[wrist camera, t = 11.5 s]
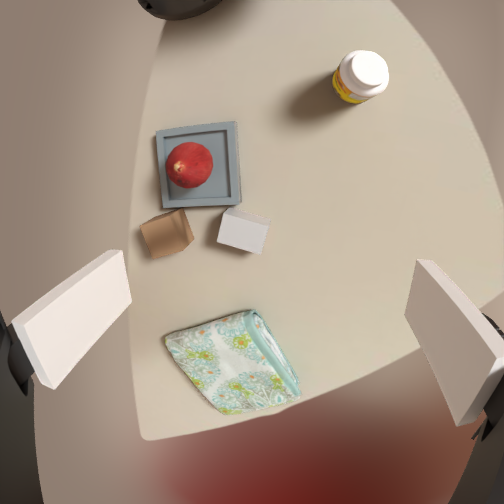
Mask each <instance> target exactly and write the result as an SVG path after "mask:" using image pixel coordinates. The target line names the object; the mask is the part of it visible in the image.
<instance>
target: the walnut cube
mask: <svg viewBox="0 0 504 504" xmlns="http://www.w3.org/2000/svg"><path fill="white" fill-rule="evenodd" d="M140 229H141V231H142V234H143V236H144V239H145V241H146V244H147V246H148V249H149V251H150V253H151V256H152V258H153V259H155V258H158V257H162V256H165V255H169V254H172V253H176V252H180V251H183V250H184V249H185V248H186V247H187V246H188V245H189V244H190V243H191V242H192V241H193V240H194V236H193V234H192V231H191V228H190V225H189V223H188V220H187V217H186V215H185V212H184V209H183V207H182V208H179V209H176V210H173V211H171V212H168V213H165V214H162V215H159V216H156V217H154V218H152V219H151V220H149V221H147V222H146V223H144V224H142V225H141V226H140Z"/></svg>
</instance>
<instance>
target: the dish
mask: <svg viewBox="0 0 504 504" xmlns="http://www.w3.org/2000/svg"><path fill="white" fill-rule="evenodd" d="M156 141H157V154H158V165H159V175H160V185H161V194H162V202H163V208H171V207H189V206H211V205H238V204H240V203H241V202H242V200H241V184H240V168H239V151H238V134H237V122H235V121H233V122H221V123H211V124H202V125H194V126H186V127H179V128H172V129H166V130H160V131H156ZM185 142H195V143H198V144H201V145H203V146H204V147H206V148H207V149H208V150H209V151H210V153H211V155H212V157H213V169H212V172H211V175H210V176H209V178H208V179H207V180H206V182H205V183H203V184H202V185H200V186H198V187H196V188H188V189H185V188H183V187H180V186H177V185H176V184H175V183H173V182H172V181H171V180H170V179H169V177H168V174H167V172H166V161H167V158H168V155H169V154H170V152H171V151H172V150H173V148H174V147H176V146H178V145H180V144H181V143H185Z"/></svg>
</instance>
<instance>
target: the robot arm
mask: <svg viewBox="0 0 504 504" xmlns="http://www.w3.org/2000/svg"><path fill="white" fill-rule="evenodd" d="M221 1H222V0H138V2H139V4H140V5H141V6H142V7H143V8H144V9H145V10H146V11H147V12H149V13H150V14H152V15H153V16H155V17H158V18H161V19H165V20H180V19H186V18H190V17H193V16H196V15H199V14H201V13H203V12H206V11H207V10H209V9H211V8H213V7H214V6H216V5H217V4H218V3H219V2H221ZM131 303H132V299H131V294H130V289H129V285H128V280H127V274H126V270H125V264H124V258H123V252H122V250H108V251H107V252H105V253H104V254H102V255H101V256H99V257H98V258H96V259H95V260H93V261H92V262H90V263H89V264H87V265H86V266H84V267H83V268H81V269H80V270H79V271H77V272H76V273H74V274H73V275H71V276H70V277H69V278H67V279H66V280H64V281H63V282H62V283H60V284H59V285H58V286H56V287H55V288H53V289H52V290H51V291H50V292H48V293H47V294H45V295H44V296H43V297H41V298H40V299H39V300H37V301H36V302H35V303H33V304H32V305H31V306H30V307H28V308H27V309H26V310H24V311H23V312H22V313H21V314H19V315H18V316H17V317H16V318H14V319H13V320H12V323H11V324H10V325H9V326H8V327H7V326H6V324H5V322H4V319H3V317H2V314H1V311H0V504H44V502H43V498H42V492H41V487H40V481H39V474H38V466H37V457H36V447H35V433H34V383H33V380H32V378H31V375H32V374H33V373H34V372H35V373H36V375H37V377H38V378H39V380H40V382H41V384H43V385H45V386H47V387H50V388H52V389H54V390H55V389H56V387H57V386H58V385H59V384H60V383H61V381H62V380H63V379H64V378H65V377H66V376H67V374H68V373H69V372H70V371H71V370H72V368H73V367H74V366H75V365H76V364H77V363H78V361H79V360H80V359H81V358H82V357H83V356H84V355H85V353H86V352H87V351H88V350H89V349H90V347H92V345H93V344H94V343H95V342H96V341H97V340H98V339H99V338H100V336H101V335H102V334H103V333H104V332H105V331H106V330H107V328H108V327H109V326H110V325H111V324H112V323H113V322H114V321H115V320H116V319H117V318H118V317H119V315H120V314H121V313H122V312H123V311H124V310H125V309H126V308H127V307H128V306H129V305H130V304H131ZM404 315H405V317H406V319H407V321H408V323H409V325H410V326H411V328H412V330H413V332H414V334H415V336H416V338H417V340H418V342H419V344H420V346H421V348H422V350H423V352H424V354H425V356H426V358H427V360H428V362H429V364H430V366H431V368H432V371H433V373H434V375H435V377H436V379H437V381H438V384H439V386H440V388H441V390H442V392H443V395H444V397H445V400H446V402H447V404H448V407H449V409H450V411H451V414H452V416H453V419H454V422H455V424H456V426H461V425H464V424H468V423H472V422H474V421H475V420H476V419H477V418H478V416H479V415H480V413H481V412H482V410H483V409H484V411H485V413H486V415H487V417H486V419H485V420H484V421H483V423H482V424H481V426H480V427H479V428H478V430H477V431H476V432H475V433H474V435H473V437H472V438H471V439H473V440H474V438H475V437H476V436H477V435H478V434H479V435H478V438H477V441H476V443H475V446H474V448H473V451H472V454H471V456H470V459H469V461H468V464H467V466H466V468H465V470H464V473H463V475H462V477H461V479H460V481H459V483H458V485H457V488H456V489H455V492H454V493H453V496H452V497H451V499H450V501H449V503H448V504H504V333H503V332H502V331H501V330H499V327H498V326H497V325H496V324H495V322H494V321H493V320H492V319H491V318H489V317H488V316H486V315H485V314H483V313H481V312H480V311H479V310H478V308H477V307H476V306H475V305H474V304H473V303H472V302H471V301H470V300H469V298H468V297H467V296H466V295H465V294H464V293H463V292H462V291H461V290H460V289H459V288H458V287H457V285H456V284H455V283H454V282H453V281H452V280H451V279H450V278H449V277H448V276H447V275H446V274H445V273H444V272H443V271H442V270H441V269H440V268H439V267H438V266H437V265H436V264H435V263H434V262H433V261H432V260H420V259H416V265H415V270H414V275H413V280H412V285H411V289H410V294H409V298H408V302H407V306H406V310H405V314H404Z"/></svg>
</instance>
